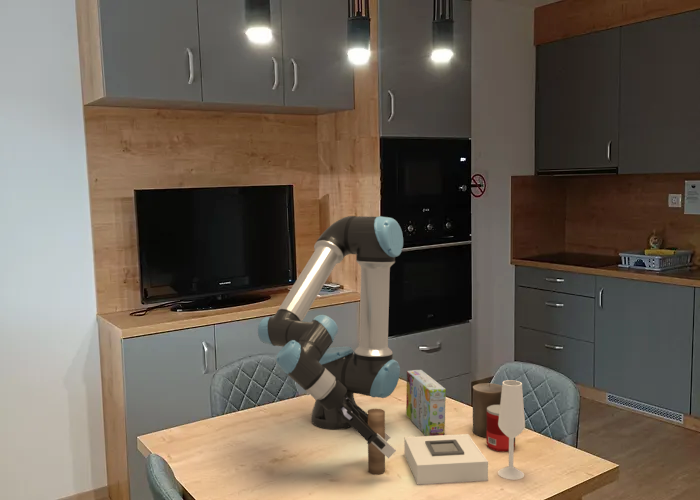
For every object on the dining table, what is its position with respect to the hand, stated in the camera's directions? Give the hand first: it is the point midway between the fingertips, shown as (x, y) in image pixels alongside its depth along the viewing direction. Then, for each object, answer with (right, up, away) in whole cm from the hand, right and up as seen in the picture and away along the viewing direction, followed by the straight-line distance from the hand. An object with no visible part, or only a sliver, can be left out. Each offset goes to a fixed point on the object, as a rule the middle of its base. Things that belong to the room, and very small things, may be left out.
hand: (389, 447), depth 170 cm
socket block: (+15, -6, +2) cm, 16 cm away
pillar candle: (+31, -3, +26) cm, 41 cm away
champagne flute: (+31, -6, -2) cm, 32 cm away
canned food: (+33, -5, +15) cm, 36 cm away
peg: (-3, -6, 0) cm, 7 cm away
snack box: (+13, -3, +31) cm, 34 cm away
